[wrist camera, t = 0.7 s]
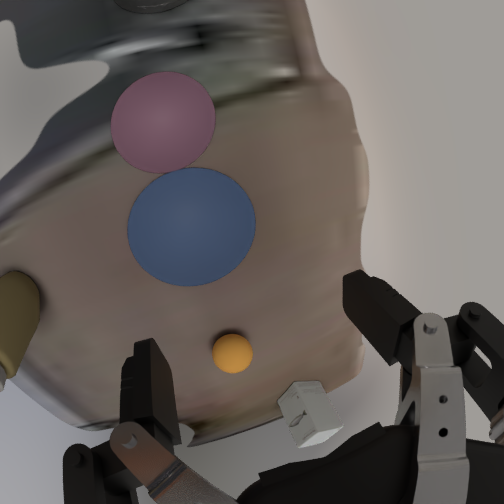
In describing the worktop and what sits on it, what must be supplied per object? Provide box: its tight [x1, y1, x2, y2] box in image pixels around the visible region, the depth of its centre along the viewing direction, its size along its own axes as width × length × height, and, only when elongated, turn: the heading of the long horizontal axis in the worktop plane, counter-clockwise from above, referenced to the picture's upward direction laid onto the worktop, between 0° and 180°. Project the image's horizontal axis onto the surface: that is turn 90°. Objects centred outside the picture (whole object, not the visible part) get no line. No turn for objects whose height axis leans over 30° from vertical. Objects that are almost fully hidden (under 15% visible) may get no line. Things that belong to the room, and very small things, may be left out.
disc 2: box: [128, 168, 255, 286], centre depth 30 cm, size 14×14×1 cm
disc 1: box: [111, 72, 215, 173], centre depth 23 cm, size 10×10×1 cm
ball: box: [212, 334, 253, 373], centre depth 37 cm, size 6×6×6 cm
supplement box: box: [277, 381, 344, 448], centre depth 49 cm, size 7×7×13 cm
